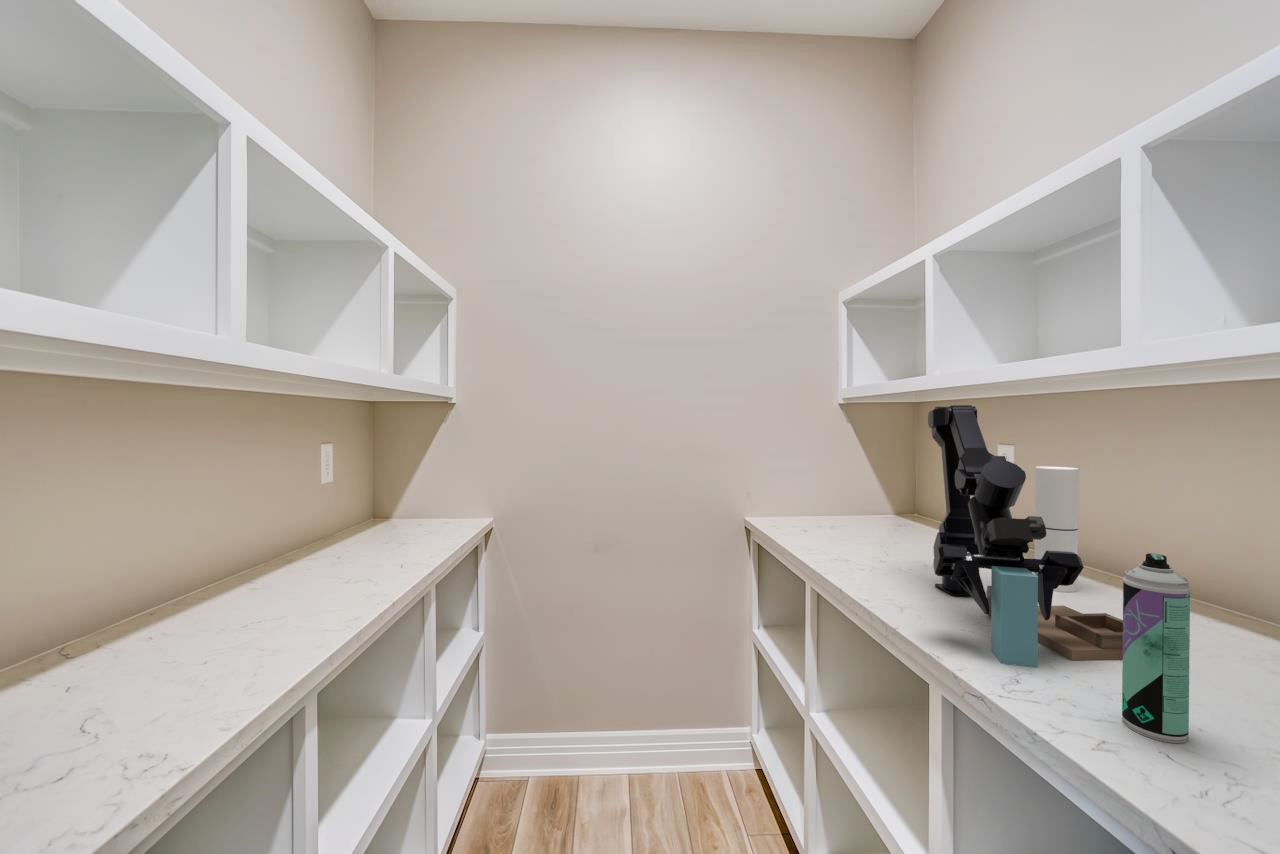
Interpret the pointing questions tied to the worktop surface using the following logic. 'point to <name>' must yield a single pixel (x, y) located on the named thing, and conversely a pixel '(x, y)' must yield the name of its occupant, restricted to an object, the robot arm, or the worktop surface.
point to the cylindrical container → (1057, 512)
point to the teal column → (1014, 615)
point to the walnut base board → (1079, 633)
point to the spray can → (1156, 651)
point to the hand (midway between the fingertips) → (1017, 616)
